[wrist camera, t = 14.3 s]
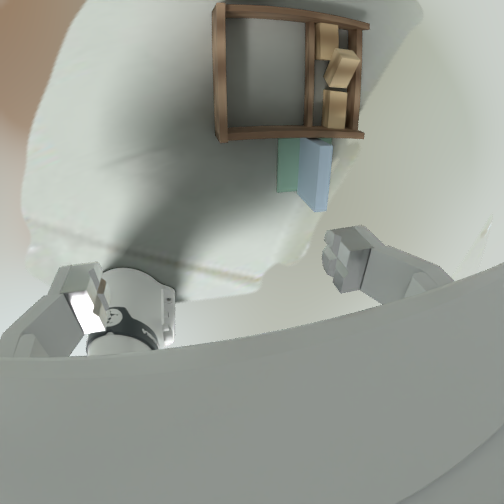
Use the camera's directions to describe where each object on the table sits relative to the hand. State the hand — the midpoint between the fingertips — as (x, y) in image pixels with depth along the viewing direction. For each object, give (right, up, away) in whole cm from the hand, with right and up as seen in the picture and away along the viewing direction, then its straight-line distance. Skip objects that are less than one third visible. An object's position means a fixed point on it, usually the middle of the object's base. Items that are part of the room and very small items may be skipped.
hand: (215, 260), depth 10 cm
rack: (+7, +26, +26) cm, 38 cm away
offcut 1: (+12, +32, +25) cm, 42 cm away
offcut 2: (+14, +23, +31) cm, 41 cm away
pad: (+10, +14, +35) cm, 39 cm away
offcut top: (+14, +28, +25) cm, 40 cm away
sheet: (+10, +14, +35) cm, 39 cm away
